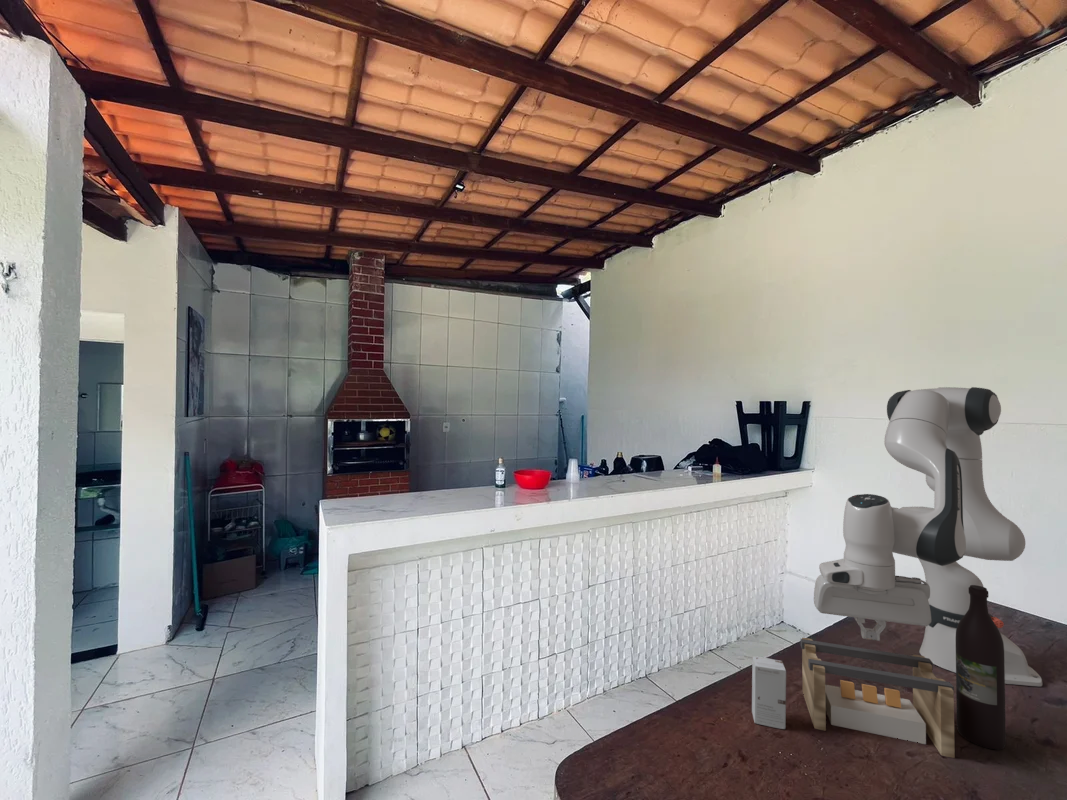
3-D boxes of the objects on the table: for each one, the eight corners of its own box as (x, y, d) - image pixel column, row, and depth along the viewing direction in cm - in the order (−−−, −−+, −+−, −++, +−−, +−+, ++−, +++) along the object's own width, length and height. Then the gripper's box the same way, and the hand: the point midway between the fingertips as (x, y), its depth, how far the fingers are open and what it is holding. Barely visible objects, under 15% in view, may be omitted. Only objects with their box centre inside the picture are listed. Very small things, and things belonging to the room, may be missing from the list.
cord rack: (924, 715, 100) (923, 656, 100) (954, 758, 87) (953, 690, 88) (802, 692, 108) (802, 637, 108) (814, 728, 96) (813, 666, 96)
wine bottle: (947, 725, 96) (945, 580, 97) (982, 726, 96) (980, 580, 97) (978, 750, 89) (976, 594, 90) (1016, 751, 89) (1014, 594, 90)
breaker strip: (909, 718, 99) (909, 699, 99) (925, 744, 91) (925, 723, 91) (822, 701, 104) (822, 683, 104) (831, 724, 97) (831, 705, 97)
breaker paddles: (899, 706, 96) (897, 690, 97) (901, 707, 95) (899, 691, 96) (840, 695, 100) (839, 679, 101) (842, 696, 99) (840, 681, 100)
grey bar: (949, 690, 90) (949, 682, 90) (953, 695, 89) (953, 686, 89) (808, 666, 99) (808, 658, 99) (809, 670, 97) (809, 662, 97)
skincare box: (754, 724, 97) (753, 666, 97) (751, 710, 101) (750, 655, 101) (787, 730, 95) (786, 671, 95) (782, 716, 99) (782, 659, 100)
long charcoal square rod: (929, 666, 98) (929, 658, 98) (932, 670, 97) (932, 662, 97) (800, 645, 107) (800, 638, 107) (801, 649, 105) (801, 642, 105)
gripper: (923, 573, 97) (924, 639, 97) (811, 563, 105) (812, 624, 104) (936, 584, 91) (938, 655, 91) (817, 572, 99) (818, 637, 99)
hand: (870, 638), depth 98 cm, fingers closed
